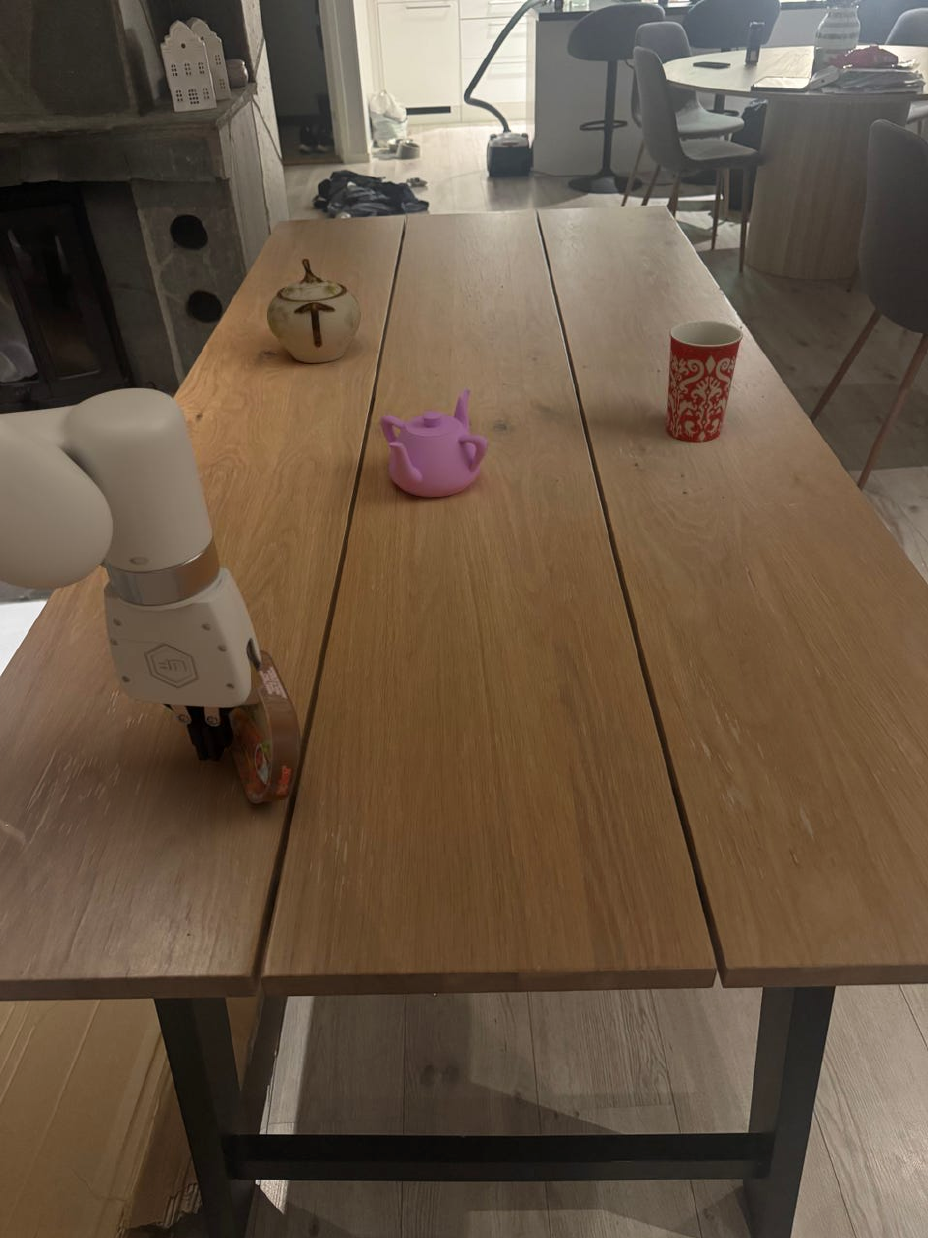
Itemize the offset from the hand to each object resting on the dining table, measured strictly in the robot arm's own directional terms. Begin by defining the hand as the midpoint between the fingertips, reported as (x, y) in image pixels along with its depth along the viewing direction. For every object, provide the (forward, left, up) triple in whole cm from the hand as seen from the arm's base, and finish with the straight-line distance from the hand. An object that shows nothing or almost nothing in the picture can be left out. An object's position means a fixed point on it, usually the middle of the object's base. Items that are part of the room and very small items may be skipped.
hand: (215, 749), depth 77 cm
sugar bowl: (-18, +92, -2) cm, 93 cm away
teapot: (+9, +51, -2) cm, 52 cm away
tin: (+3, 0, -1) cm, 3 cm away
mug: (+41, +69, -2) cm, 80 cm away
